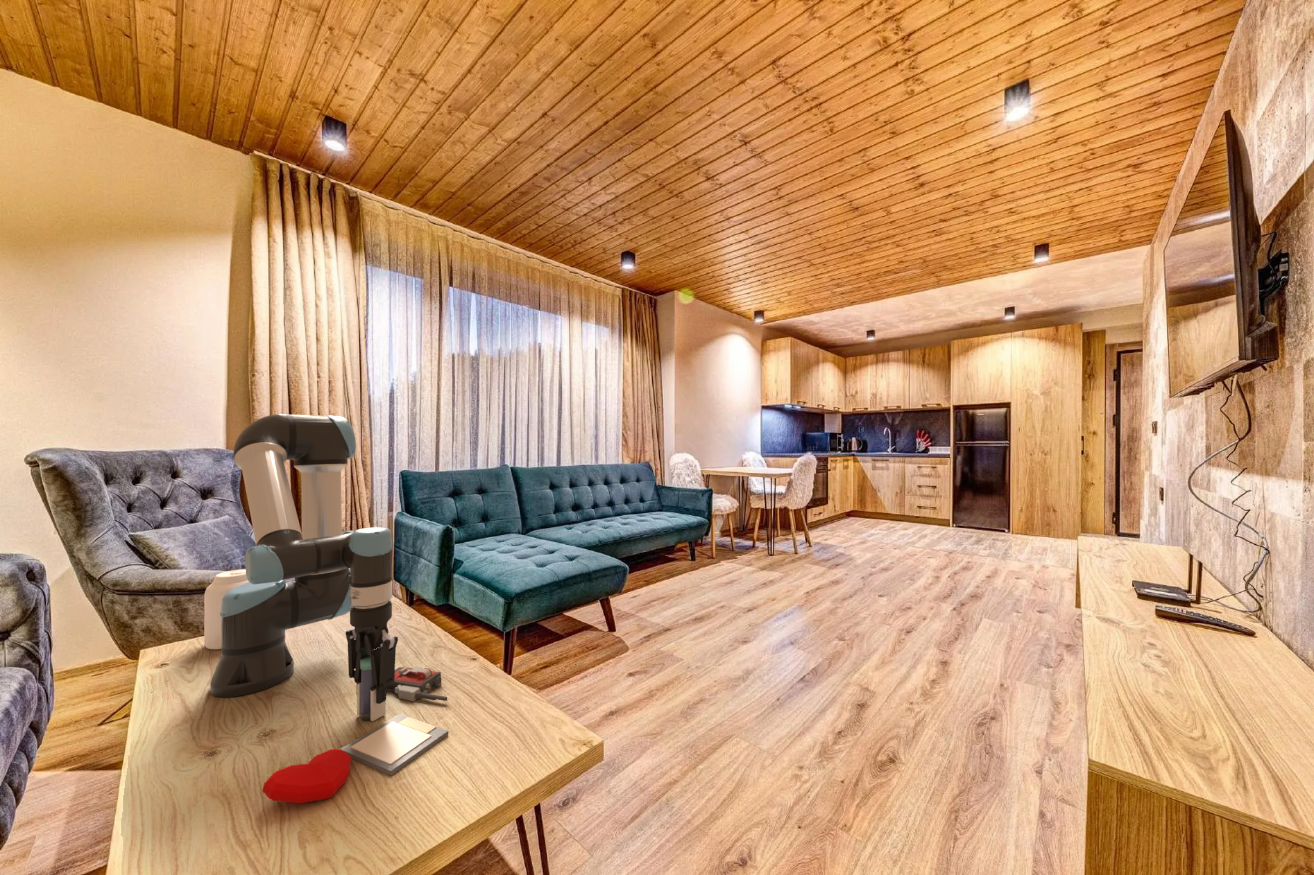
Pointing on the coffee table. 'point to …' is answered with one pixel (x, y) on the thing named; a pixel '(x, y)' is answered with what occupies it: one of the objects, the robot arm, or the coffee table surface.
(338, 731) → the coffee table surface
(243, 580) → the white jar
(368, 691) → the marker
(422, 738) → the clipboard
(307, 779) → the heart
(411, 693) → the walkie-talkie
